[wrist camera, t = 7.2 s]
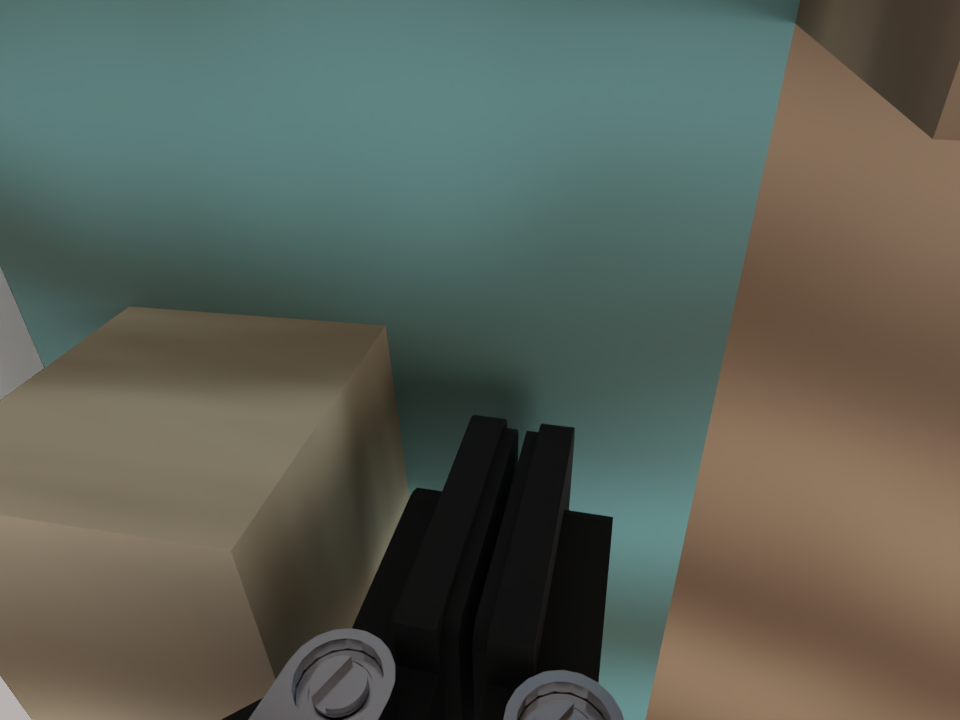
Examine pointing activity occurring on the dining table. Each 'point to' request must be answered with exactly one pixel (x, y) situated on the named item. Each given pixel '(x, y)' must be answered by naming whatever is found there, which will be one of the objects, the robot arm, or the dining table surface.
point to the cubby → (570, 280)
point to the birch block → (191, 509)
